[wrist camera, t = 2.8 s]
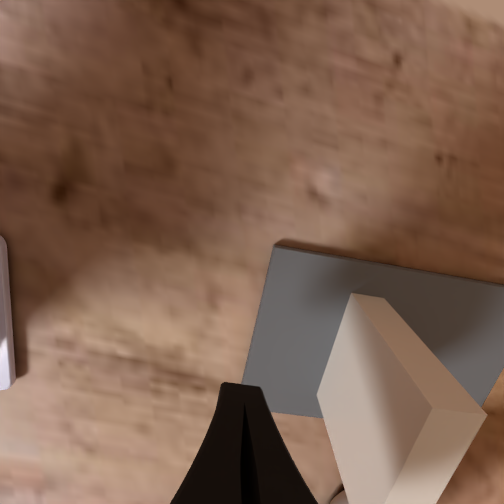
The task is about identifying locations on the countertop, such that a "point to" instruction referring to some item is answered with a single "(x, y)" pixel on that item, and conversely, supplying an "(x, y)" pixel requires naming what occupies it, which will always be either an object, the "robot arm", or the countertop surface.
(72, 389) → the countertop surface
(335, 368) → the tile
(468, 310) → the mat
